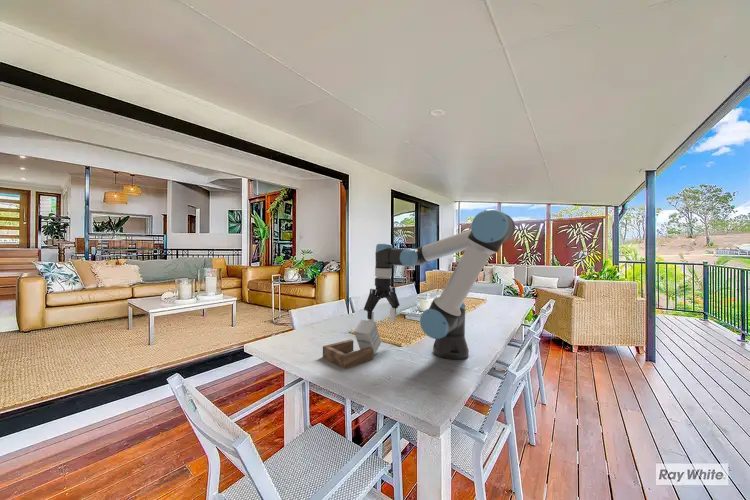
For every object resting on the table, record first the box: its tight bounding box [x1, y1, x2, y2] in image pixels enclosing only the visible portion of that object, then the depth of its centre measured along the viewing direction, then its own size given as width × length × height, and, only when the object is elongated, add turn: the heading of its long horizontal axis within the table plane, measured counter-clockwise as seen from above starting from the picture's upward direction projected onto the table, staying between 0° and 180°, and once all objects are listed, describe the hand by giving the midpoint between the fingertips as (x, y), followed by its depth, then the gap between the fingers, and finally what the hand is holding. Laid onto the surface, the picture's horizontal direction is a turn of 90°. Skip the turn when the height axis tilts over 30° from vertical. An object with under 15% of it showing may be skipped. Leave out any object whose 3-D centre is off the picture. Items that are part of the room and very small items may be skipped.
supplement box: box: [353, 319, 382, 356], centre depth 125 cm, size 7×7×13 cm
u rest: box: [322, 338, 374, 370], centre depth 119 cm, size 15×14×4 cm
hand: (382, 324), depth 132 cm, fingers open, 13 cm apart
